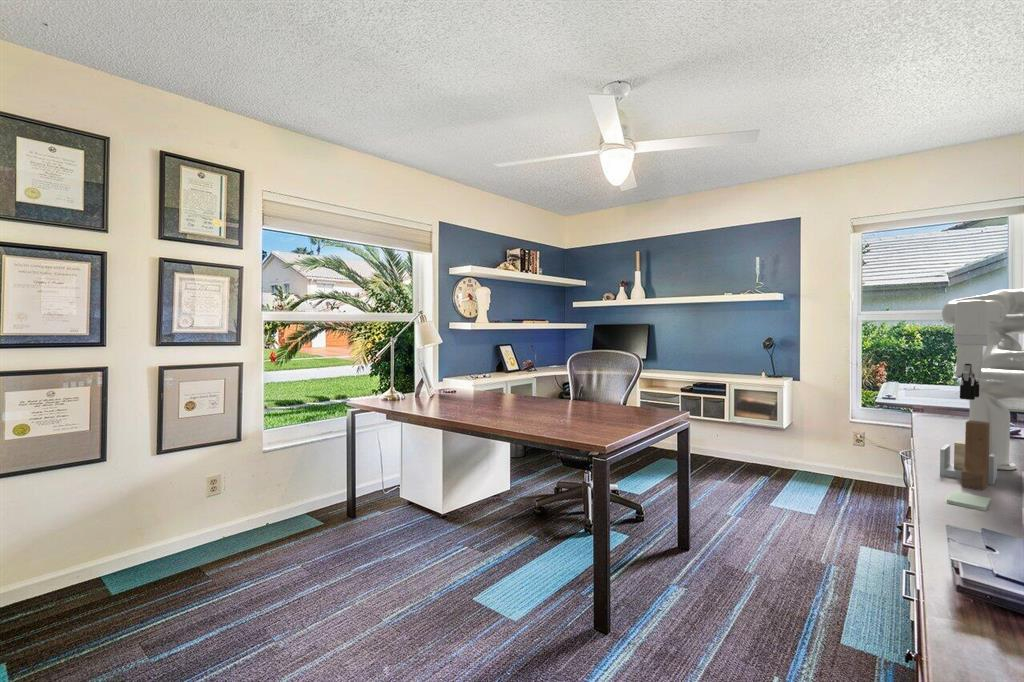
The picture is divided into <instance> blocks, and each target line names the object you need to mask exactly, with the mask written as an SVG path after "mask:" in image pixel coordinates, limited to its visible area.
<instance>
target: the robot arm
mask: <svg viewBox="0 0 1024 682" xmlns="http://www.w3.org/2000/svg"><path fill="white" fill-rule="evenodd" d="M941 316H942V320H943V322H945V324H948V325H949V326H950V325H951V326H954V331H953V332H954V335H953V336H954V337H953V339H954V340H953V347H954V346H955V347H956V346H957V352H956V365H955V368H956V369H955V378H956V379H960V385H959V399H960V400H968V401H969V403H968V404H969V420H973V421H982V422H989V423H990V434H989V455H990V454H991V452H992V451H998V455H997V470H1002V471H1003V470H1005V471H1007V470H1008V471H1010V470H1011V471H1013V470H1016V469H1017V465H1016V464H1015V463H1014V462H1010V444H1011V443H1010V439H1011V438H1010V437H1011V412H1010V410H1009V409H1008V407H1007V406H1006V405H1005V404H1004V403H1002V401H1001V400H1012V401H1022V402H1024V350H1023V348H1022V345H1021V343H1020V342H1018V340H1017V339H1015V338H1014V337H1012V336H1011V335H1009V334H1016V335H1018V334H1021V335H1023V334H1024V288H1015V289H1014V288H1013V289H998V290H994V291H991V292H989V293H986V294H981V295H975V296H970V297H962V298H957V299H953V300H950V301H948V302H947V303H946V304H945V305H944V306H943V307H942V310H941ZM984 347H985V350H984Z"/></svg>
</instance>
